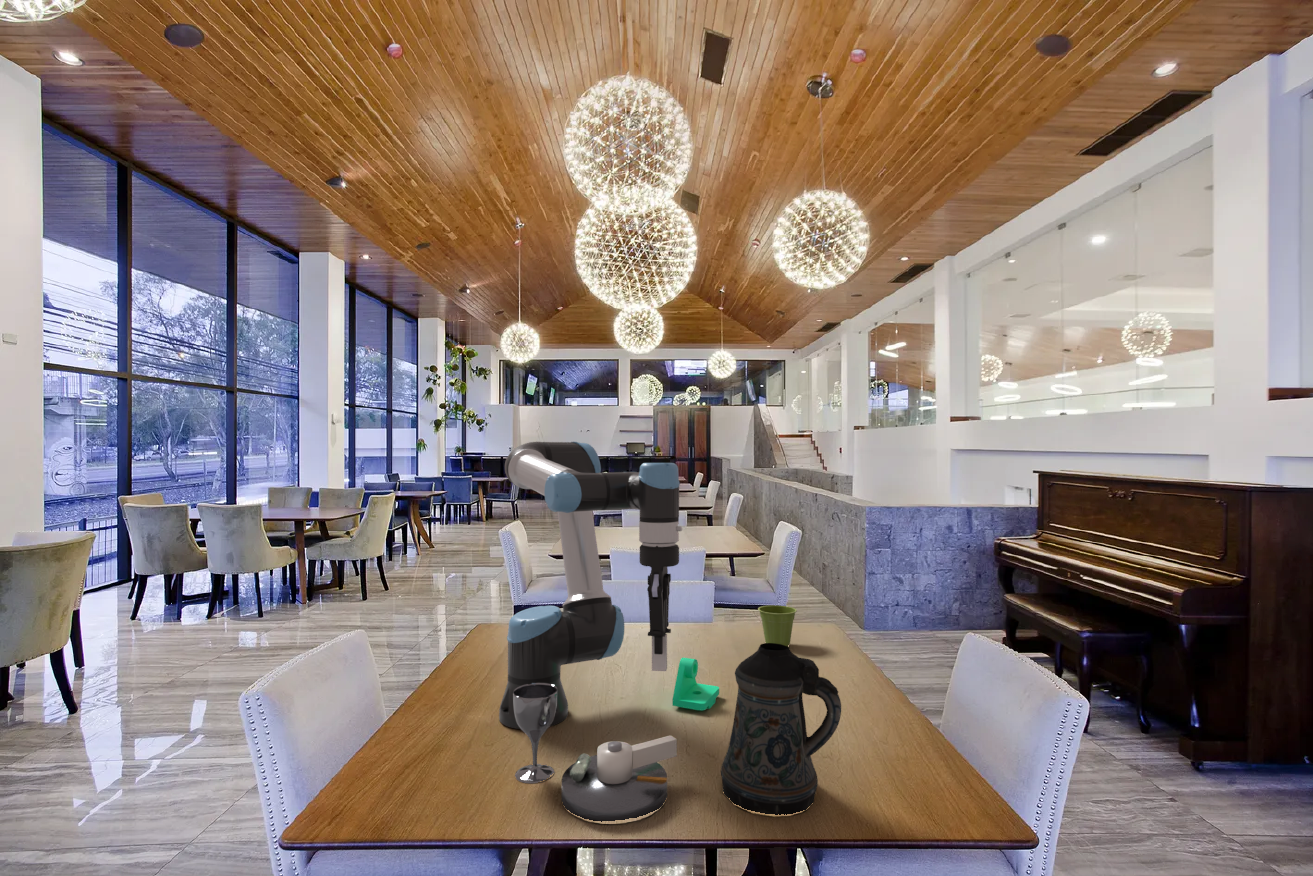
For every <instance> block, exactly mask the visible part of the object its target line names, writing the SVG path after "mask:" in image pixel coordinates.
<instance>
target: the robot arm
mask: <svg viewBox="0 0 1313 876" xmlns="http://www.w3.org/2000/svg"><path fill="white" fill-rule="evenodd" d="M504 462H505V463H504V472H505V475H506V478H507V479H508V480H509V482H510V483H512V484H513V485H515V486H516V487H518V488H519V489H522V490H523V489H524V490H532V491H535V492H537V493H538V494H540V495H542V496H544V502H545V503H546V505H547V509H549V510H550V511H551V512H555V513H557V516H558V517H557V520H558V526H559V533H560V535H559V536H560V543H561V550H562V559H563V567H564V575H565V583H566V591H567V598H566V599H565V601H564V602H563V604H562V610H561V608H560V607H558V606H555V605H545V606H544V605H539V606H534V607H529V608H526V609H523V610H521V611H519V612H516V613H515V614H514V615H513V616H511V617H510V619H509V622H508V629H507V630H508V631H507V637H506V640H507V683H506V686H505V687H506V688H505V690H504V693H503V695H502V699H501V703H500V706H499V710H498V711H499V713H498V714H499V715H498V719H499V722H500V723H501V724H502V725H504V726H506V727H508V728H511V729H515V730H522V729H521V728H520V727H519V726H518V724H517V722H516V718H515V714H514V707H513V692H514V690H515V689H516V688H517V687H519V686H522V685H525V684H531V683H547V684H552V685H554V686H556V687H557V706H556V712H555V716H554V720H553V722H552V723H551V725H550V726H549V727H548V728H550V727H552V726H557V725H558V724H560V723H562V722H563V721H564V720H566V718H567V717H568V715H569V703H568V700H567V695H566V694H565V693H566V692H565V690H564V686H563V683H562V680H561V668H562V667H561V666H564V665H570V664H576V663H583V662H588V661H589V662H590V661H595V660H596V661H600V660H602V659H604V658H609V657H613V656H615V655H616V654H617V653H618V652H619V651H620V650H621V647H622V644H623V642H624V639H625V638H624V637H625V618H624V613H623V612H622V608H620V606H618V605H615V604H613V602H612V597H611V595H609V594H608V593H607V592H606V591H605V590H604V584H603V577H602V570H601V565H600V556H599V551H598V550H599V549H598V542H597V536H596V529H595V522H594V515H593V512H594V511H621V510H639V524H638V528H639V529H638V531H639V532H638V536H639V537H638V538H639V539H638V540H639V542H640V543H642V544H640V546H639V563H640V565H642V566H643V567H649V568H650V573H649V575H647V585H648V586H647V590H646V591H647V597H648V610H649V611H648V613H649V615H648V616H649V631H648V633H647V636H648V637H651V671H652V672H653V671H654V672H667V670H668V634H671V633H672V629H671V628H668V627H669V623H670V622H669V613H670V611H669V609H670V608H669V607H670V588H671V587H670V583H671V581H672V580H671V579H672V574H671V573H668V571H669V570H668V568H669V567H675V566H677V565H678V564H679V563H680V546H679V545H678V544H677V543H678V542H679V540H680V539H679V538H680V536H679V535H680V534H679V532H682V531H683V528H682V526H680V523H679V517H680V486H681V485H680V480H679V479H680V478H679V476H680V475H679V467H678V465H677V463H674V462H643V463H641V465H640V466H639V471H638V472H637V471H623V472H622V471H621V472H620V471H619V472H601V471H602V470H601V469H602V465H601V462H600V458H599V455H598V452H597V451H596V449H595V447H593V446H592V445H591V444H589V443H585V442H577V441H571V442H569V441H528V442H526V443H523V444H520V445H519V446H516V447H515V448H514V449H512V450H511V452H510V453H509V454H508V456H507V457H506V459H505V461H504Z"/></svg>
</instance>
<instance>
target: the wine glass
mask: <svg viewBox="0 0 1313 876" xmlns="http://www.w3.org/2000/svg"><path fill="white" fill-rule="evenodd" d="M556 706H557V687H556V686H554V685H552V684H547V683H531V684H525V685H522V686H519V687H517V688H516V689H515V690H514V692H513V707H514V714H515V718H516V722H517V724H518V726H519V727H520V728H521V729H520V730H521V731H522V732H523V733H524V734H525V735H526V736H527V737H528V739H529V741H530V744H531V750H532V751H531V752H532V764H533V765H532V764H528V765H524V766H522V767H520V768H519V769H518V770H516V771H515V774H514V778H515V777H516V778H515V779H516V780H517V781H518V782H520V783H524V784H532V785H533V784H539V783H538V782H540V781H543V780H546V779H547V778H549V777H550V775H552V774H553V773H554V774H555V769H554V768H553V767H552V766H550V765H548V764H545V765H541V764H542V763H538V752H539V751H538V750H539V743H540V740H541V738H542V736H543V735H544V734H545V733H546V731H547V730H548V729H549V728H550V727H551V726H550V725H551V723H552V722H553V720H554V716H555V712H556ZM549 726H550V727H549ZM547 765H548V766H547ZM546 781H547V780H546ZM540 783H541V782H540Z"/></svg>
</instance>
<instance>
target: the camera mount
mask: <svg viewBox="0 0 1313 876" xmlns="http://www.w3.org/2000/svg"><path fill="white" fill-rule="evenodd" d="M698 671H699V662H698V660H697V659H696V658H689V657H681V658H680V660H679V664H678V669H677V672H676V679H675V685H674V690H673V694H672V703H671V704H672V706H673V707H677V708H684V709H689V710H695V711H705V710H710V709H711V708H712V707H713V706H714V705H715V704H716V702H717V701H716V699H717V697H719V695H720V687H719V686H717V685H712V684H711V685H710V684H704V683H700V682H699V683H698V682H697V680H696V677H697V675H698Z"/></svg>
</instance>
